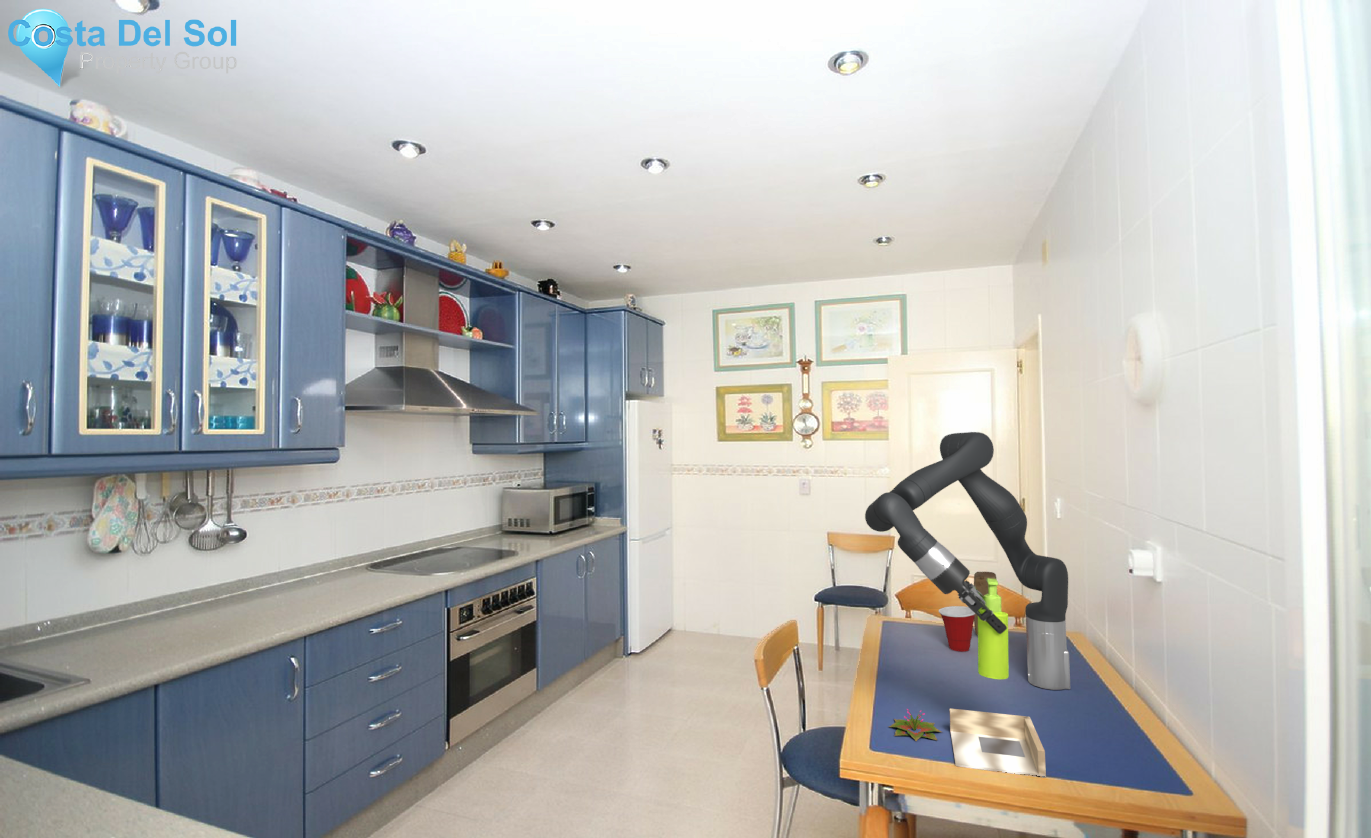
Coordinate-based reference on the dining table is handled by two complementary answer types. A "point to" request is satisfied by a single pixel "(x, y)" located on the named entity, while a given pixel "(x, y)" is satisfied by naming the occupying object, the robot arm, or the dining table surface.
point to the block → (981, 588)
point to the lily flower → (915, 727)
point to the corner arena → (996, 742)
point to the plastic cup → (958, 626)
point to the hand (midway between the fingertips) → (1001, 626)
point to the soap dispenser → (993, 639)
